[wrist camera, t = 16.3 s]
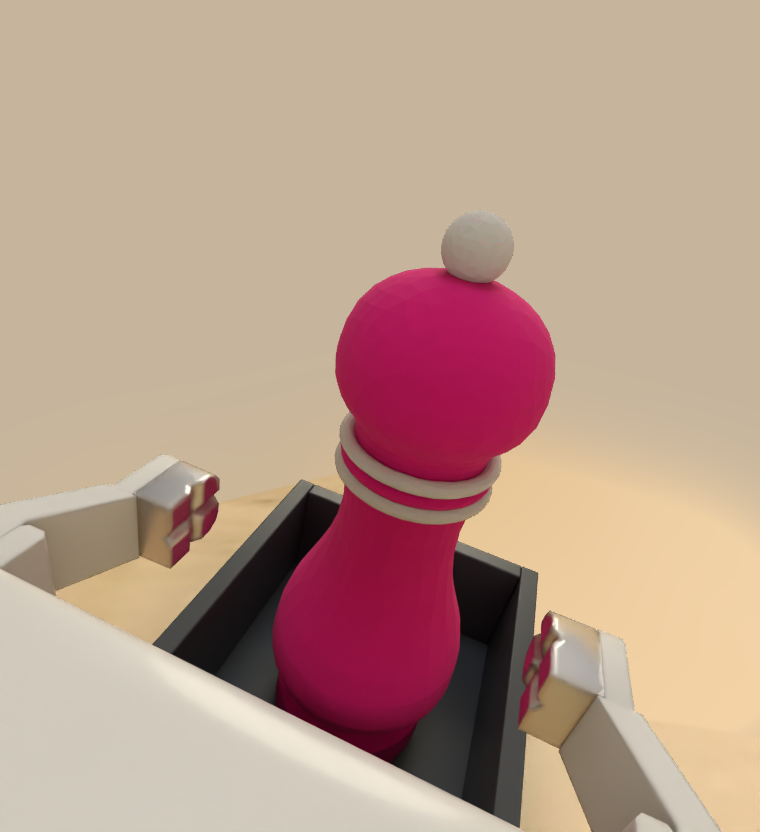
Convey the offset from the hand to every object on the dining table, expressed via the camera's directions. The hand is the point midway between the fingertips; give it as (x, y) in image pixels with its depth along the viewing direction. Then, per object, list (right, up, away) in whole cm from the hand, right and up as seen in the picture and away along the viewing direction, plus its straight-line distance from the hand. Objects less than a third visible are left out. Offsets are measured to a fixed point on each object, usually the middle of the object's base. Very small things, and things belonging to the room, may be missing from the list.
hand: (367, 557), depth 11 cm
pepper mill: (-1, -9, +10) cm, 14 cm away
